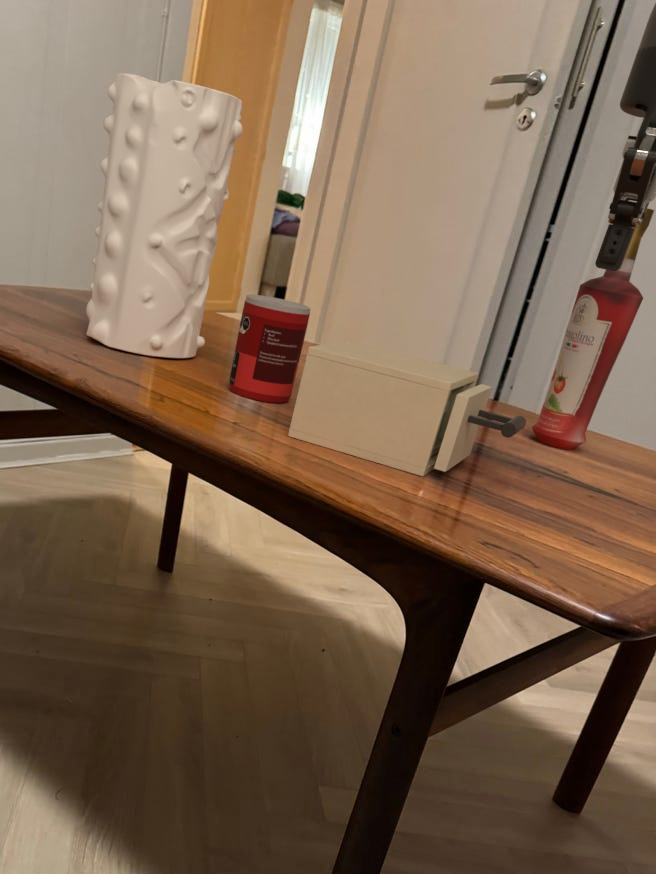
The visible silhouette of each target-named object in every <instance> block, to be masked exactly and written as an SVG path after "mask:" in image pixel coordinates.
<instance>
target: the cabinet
mask: <svg viewBox="0 0 656 874" xmlns="http://www.w3.org/2000/svg"><path fill="white" fill-rule="evenodd" d="M304 361H305V362H304V365H303V370H302V374H301V378H300V384H299V386H298V391H297V396H296V400H295V403H294V409H293V412H292V417H291V420H290V425H289V430H288V434H287V437H289V438H293V439H296V440H300V441H302V442H306V443H309V444H313V445H316V446H319V447H323V448H326V449H329V450H333V451H337V452H340V453H343V454H346V455H350V456H354V457H356V458H359V459H363V460H366V461H370V462H373V463H376V464H379V465H383V466H387V467H390V468H393V469H397V470H400V471H403V472H407V473H409V474H413V475H416V476H419V477H424V476H426V475H427V474H429V473H430V472H432V471H433V470H435V469H434V466H435V463H436V460H437V457H438V453H439V451H438V452H437V453H435V454H433V455H432V456H431V454H432V451H433V447H434V444H435V441H436V438H437V434H438V431H439V428H440V425H441V421H442V418H443V415H444V412H445V409H446V405H447V402H448V399H449V396H450V392H451V390H454V389H456V388H459V387H461V386H464V385H466V387H465V390H464V391H466V390H468V389H471V388H473V387H476V383H477V380H478V377H479V372H475V371H472V370H468V369H463V368H460V367H455V366H452V365H447V364H444V363H441V362H440V363H439V362H435V361H432V360H428V359H427V360H426V359H423V358H419V357H416V356H413V355H408V354H404V353H400V352H395V351H391V350H387V349H384V348H380V347H376V346H371V345H368V344H364V343H360V342H356V341H353V340H347V341H339V342H332V343H324V344H319V345H318V344H317V345H311V346H308V349H307V353H306V357H305V360H304Z"/></svg>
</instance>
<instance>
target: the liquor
mask: <svg viewBox="0 0 656 874" xmlns="http://www.w3.org/2000/svg"><path fill="white" fill-rule="evenodd" d="M645 213H646V215H645V217H644V219H642V222H641V224H640V225H638V228H634V229H635V231H634V234H633V237H632V239H631V242H630V245H629V248H628V250H627V253H626V256H625V258H624V261H623V264H622V266H621V268H620V269H619V270H618V271H611V270H606V269H605V270H604V273H603V275H601V276H598V277H593V278H591V279H588V280H586V281H585V282H583V283H581V284H579V287H578V291H577V294H576V296H575V301H574V303H573V307H572V310H571V313H570V316H569V319H568V323H567V326H566V329H565V331H564V335H563V339H562V343H561V347H560V349H559V354H558V357H557V361H556V363H555V367H554V370H553V373H552V376H551V379H550V383H549V385H548V389H547V392H546V395H545V398H544V401H543V404H542V408H541V410H540V412H539V416H538V419H537V422H536V423H534V424H533V425H532V426H531V429H532V431H533V433H534V435H535V437H536V439H537V441H538V442H539V443H541V444H544V445H546V446H550V447H553V448H555V449H560V450H568V451H571V450H574V449H576V448H578V447H580V446H581V445H583V444H584V443H586V442H587V437H586V432H587V429H588V428H589V425H590V423H591V419H592V417H593V416H594V413H595V411H596V407H597V406H598V403H599V400H600V398H601V397H602V394H603V391H604V389H605V387H606V384H607V382H608V379H609V377H610V375H611V372H612V370H613V368H614V366H615V364H616V362H617V360H618V357H619V355H620V353H621V350H622V348H623V346H624V344H625V342H626V339H627V338H628V335H629V333H630V331H631V329H632V328H631V327H632V325H633V324H634V321H635V319H636V317H637V314H638V311H639V309H640V307H641V304H642V302H643V300H644V296H643V295H642V293H641V292H640V290H639V288H638V287H636V286H635V285H634V284H633V283H632V282H630V281H631V277H632V274H633V270H634V267H635V264H636V263H635V262H636V259H637V256H638V252H639V248H640V244H641V242H642V238H643V237H644V235H645V233H646V231H647V229H648V227H649V226H650V223H651V221H652V218H653V216H654V213H655V209H652V208H648V207H647V209H646V212H645Z"/></svg>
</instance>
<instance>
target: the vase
mask: <svg viewBox="0 0 656 874" xmlns="http://www.w3.org/2000/svg"><path fill="white" fill-rule="evenodd" d="M107 94H108V97H109V99H110V101H112V102H113V104H112V105H113V106H112V113H111V114H110V115H108V116H106V117H105V118H104V120H103V122H102V123H103V124H102V125H103V128H104V130H105V131H106V132H107V134H108V135H109V145H108V154H107V157H105V158H103V159H102V161H101V162H100V170H101V172H102V174H103V176H104V178H105V182H104V188H103V197H102V200H101V201H100V202H99V203H97V211H98V212H100V214H101V219H100V225H99V226H96V228H95V235H96V237H97V238H98V244H97V252H96V256H94V257H93V258H92V260H91V263H92V264H93V266H94V278H93V282H92V283H90V285H89V289H90V291H91V298H90V300H89V301H88V303H87V304H86V306H85V307H86V308H85V314H86V316H87V318H88V321H89V322H88V327H87V330H86V336H87V337H89V338H92V339H93V340H95V341H97V342H99V343H100V344H103V345H104V346H106V347H108V348H111V349H115V350H119V351H122V352H123V351H124V352H127V353H131V354H136V355H143V356H148V357H155V358H156V357H157V358H164V359H165V358H167V359H190V358H194V357H195V356H196V355H197V351H198V349H200V348H203V347H204V346H205V343H206V340H205V337H203V336H202V335H201V336H200V332H201V330H202V329H201V328H202V325H203V318H204V313H205V308H206V303H207V302H206V301H207V297H208V291H209V286H210V269H211V267H212V263H213V261H214V258H215V253H216V252H217V249H218V246H217V242H218V226H219V223H220V220H221V218H222V214H223V209H224V202H225V201H227V200H228V199H229V196H230V193H229V189H228V183H229V175H230V170H231V165H232V159H233V157H234V155H235V153H236V148H235V144H236V140H238V139H240V138H241V136H242V134H243V125H242V123H241V122H240V121H241V119H242V115H241V112H242V111H243V100H241V99H240V98H238V97H237V96H235V95H233V94H230V93H227V92H224V91H221V90H218V89H214V88H211V87H207V86H203V85H199V84H196V83H191V82H187V81H182V80H176V79H171V80H170V81H166V82H163V83H162V82H159V81H156V80H152V79H149V78H147V77H146V76H145V77H144V76H141V75H138V74H134V73H124V72H123V73H117V74H115V77H114V81H113V83H112V84H110V86H109V87H108V89H107Z"/></svg>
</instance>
